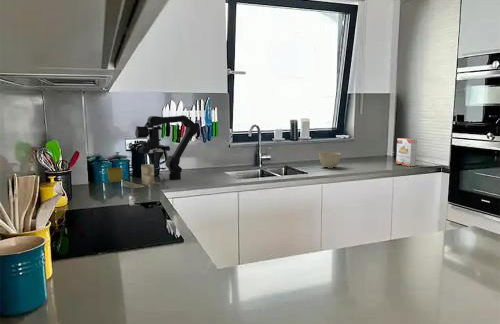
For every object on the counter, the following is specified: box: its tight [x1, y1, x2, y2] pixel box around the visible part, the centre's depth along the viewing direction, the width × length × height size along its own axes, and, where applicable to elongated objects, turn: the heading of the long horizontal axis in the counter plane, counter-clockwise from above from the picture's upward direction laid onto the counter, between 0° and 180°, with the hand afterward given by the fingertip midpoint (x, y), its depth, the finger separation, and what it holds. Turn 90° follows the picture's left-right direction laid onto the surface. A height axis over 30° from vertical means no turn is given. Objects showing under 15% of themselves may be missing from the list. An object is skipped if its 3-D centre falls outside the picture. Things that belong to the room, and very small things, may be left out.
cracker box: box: [395, 137, 418, 167], centre depth 297 cm, size 14×6×21 cm, turn 25°
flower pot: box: [106, 167, 124, 184], centre depth 233 cm, size 9×9×9 cm
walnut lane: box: [122, 180, 162, 189], centre depth 221 cm, size 19×10×4 cm, turn 138°
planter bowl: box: [318, 151, 342, 169], centre depth 290 cm, size 16×16×11 cm
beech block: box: [140, 163, 155, 186], centre depth 223 cm, size 5×5×11 cm
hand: (155, 163), depth 230 cm, fingers open, 3 cm apart
